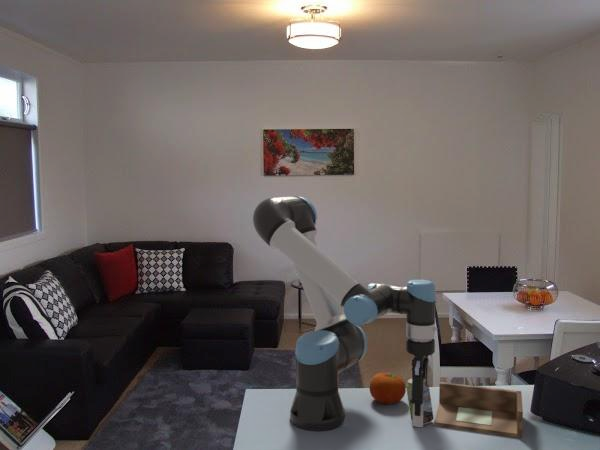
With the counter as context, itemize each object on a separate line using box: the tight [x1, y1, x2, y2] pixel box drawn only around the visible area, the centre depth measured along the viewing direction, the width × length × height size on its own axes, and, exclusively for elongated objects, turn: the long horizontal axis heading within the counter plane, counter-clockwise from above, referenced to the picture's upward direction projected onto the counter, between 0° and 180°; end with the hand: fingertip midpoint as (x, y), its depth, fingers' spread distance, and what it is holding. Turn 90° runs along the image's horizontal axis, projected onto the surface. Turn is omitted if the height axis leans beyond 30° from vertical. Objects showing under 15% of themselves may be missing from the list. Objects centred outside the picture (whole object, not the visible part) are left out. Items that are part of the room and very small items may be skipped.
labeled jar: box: [405, 377, 434, 425], centre depth 152 cm, size 6×7×12 cm
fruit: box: [369, 372, 407, 405], centre depth 166 cm, size 11×10×8 cm
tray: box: [433, 381, 524, 439], centre depth 153 cm, size 22×14×7 cm, turn 70°
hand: (419, 420), depth 152 cm, fingers closed on labeled jar, 6 cm apart
